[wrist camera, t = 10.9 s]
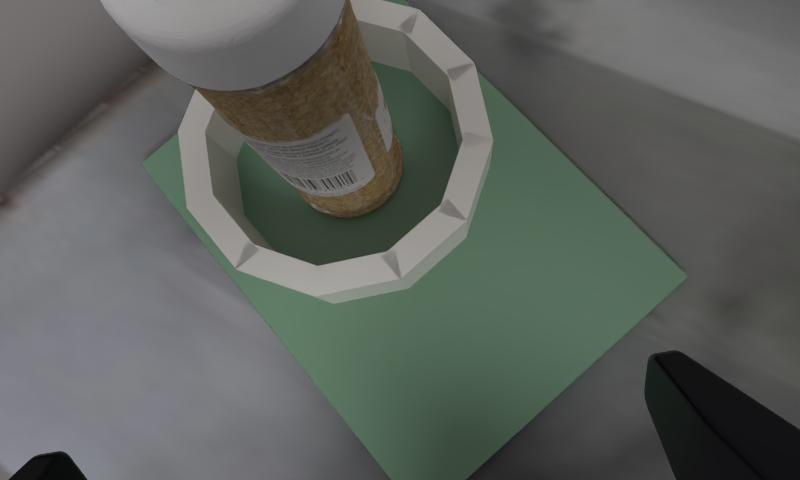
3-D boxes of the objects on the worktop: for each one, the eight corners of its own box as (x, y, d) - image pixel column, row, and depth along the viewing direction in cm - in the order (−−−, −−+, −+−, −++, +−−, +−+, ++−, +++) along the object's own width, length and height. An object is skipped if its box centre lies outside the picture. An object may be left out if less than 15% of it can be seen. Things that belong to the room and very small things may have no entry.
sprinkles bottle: (419, 131, 23) (366, -159, 10) (381, 236, 22) (269, 73, 9) (316, 100, 24) (138, -209, 11) (275, 201, 23) (33, 4, 10)
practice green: (683, 278, 21) (725, 264, 18) (423, 515, 21) (416, 547, 17) (374, -25, 25) (360, -84, 22) (146, 167, 25) (95, 138, 21)
